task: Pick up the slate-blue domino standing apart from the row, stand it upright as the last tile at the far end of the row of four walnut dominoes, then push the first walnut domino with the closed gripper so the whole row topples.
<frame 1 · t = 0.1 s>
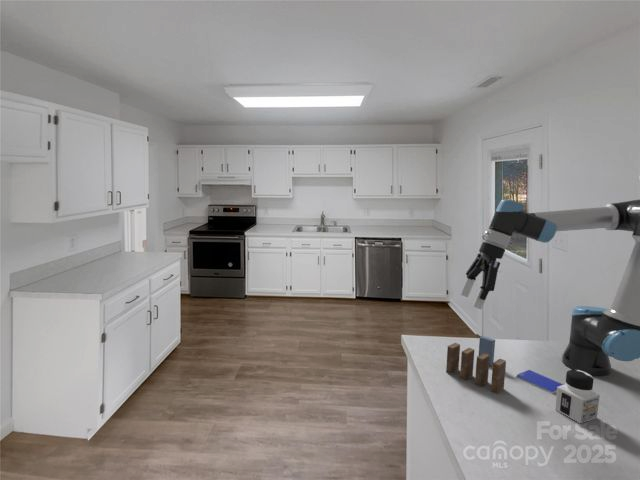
hand: (470, 301, 128), 28 cm above the counter, tool tilted 20°, fingers open, 13 cm apart
domino 2: (481, 383, 127), on the counter
domino 3: (466, 377, 132), on the counter
end domino: (485, 363, 142), on the counter
domino 4: (452, 371, 136), on the counter
container: (575, 414, 110), on the counter
domino 1: (497, 390, 123), on the counter
hard drive: (540, 384, 129), on the counter
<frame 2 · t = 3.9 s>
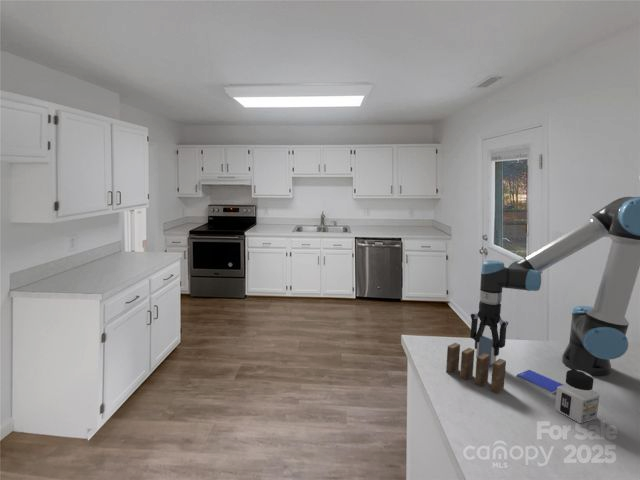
hand: (485, 360, 142), 1 cm above the counter, tool pointing down, fingers closed on end domino, 5 cm apart
end domino: (485, 363, 142), on the counter, touching gripper
everything else where it was.
when the fingers open (2 cm above the counter, at t = 10.8 s): end domino stays where it is, on the counter.
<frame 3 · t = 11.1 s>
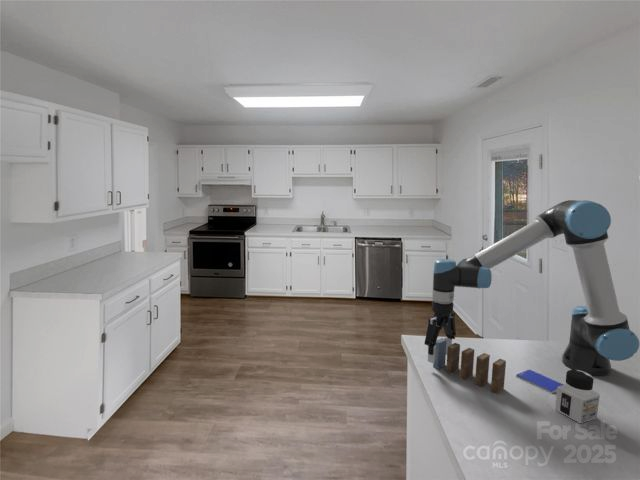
hand: (439, 358, 140), 3 cm above the counter, tool pointing down, fingers open, 10 cm apart
end domino: (439, 365, 140), on the counter
everything else where it was.
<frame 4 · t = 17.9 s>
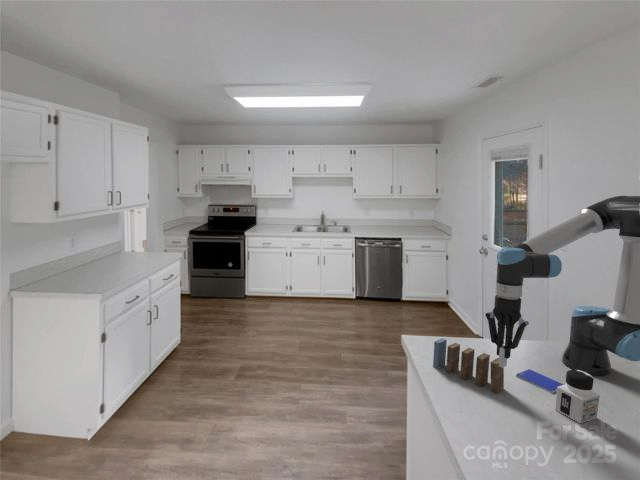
hand: (502, 365, 121), 9 cm above the counter, tool pointing down, fingers closed
nothing on the counter moved.
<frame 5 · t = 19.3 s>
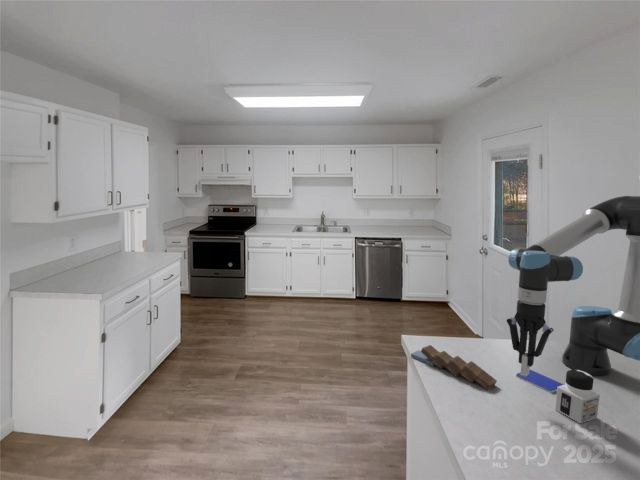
hand: (524, 374, 116), 9 cm above the counter, tool pointing down, fingers closed
domino 2: (476, 378, 128), point 1 cm above the counter, tilted 69°, touching domino 1, domino 3
domino 3: (461, 372, 133), point 1 cm above the counter, tilted 71°, touching domino 2, domino 4
end domino: (436, 363, 141), on the counter, tilted 90°
domino 4: (446, 365, 138), point 1 cm above the counter, tilted 70°, touching domino 3
domino 1: (492, 385, 124), point 1 cm above the counter, tilted 69°, touching domino 2
everything else where it was.
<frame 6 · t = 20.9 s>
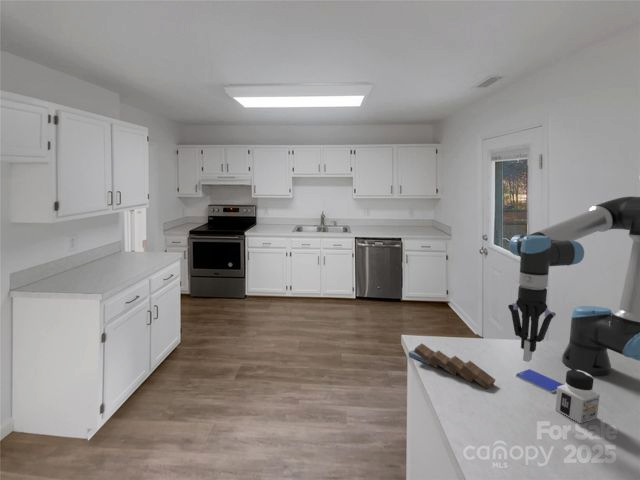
hand: (527, 359, 115), 14 cm above the counter, tool pointing down, fingers closed
domino 3: (458, 371, 134), point 1 cm above the counter, tilted 70°, touching domino 2, domino 4
end domino: (433, 361, 142), point 1 cm above the counter, tilted 90°
domino 4: (440, 363, 139), point 1 cm above the counter, tilted 70°, touching domino 3
domino 1: (491, 384, 125), point 1 cm above the counter, tilted 69°, touching domino 2
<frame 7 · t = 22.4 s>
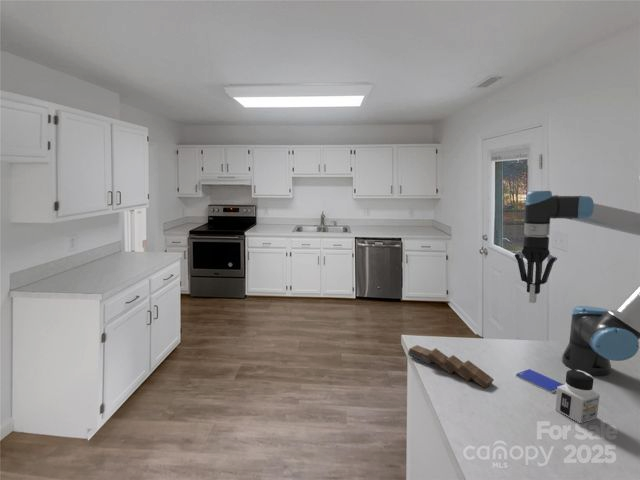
hand: (532, 301, 130), 27 cm above the counter, tool pointing down, fingers closed
domino 2: (472, 377, 130), point 1 cm above the counter, tilted 70°, touching domino 1
domino 3: (455, 369, 135), point 1 cm above the counter, tilted 68°, touching domino 4
end domino: (432, 360, 143), on the counter, tilted 90°
domino 4: (435, 357, 141), point 2 cm above the counter, tilted 90°, touching domino 3
everything else where it was.
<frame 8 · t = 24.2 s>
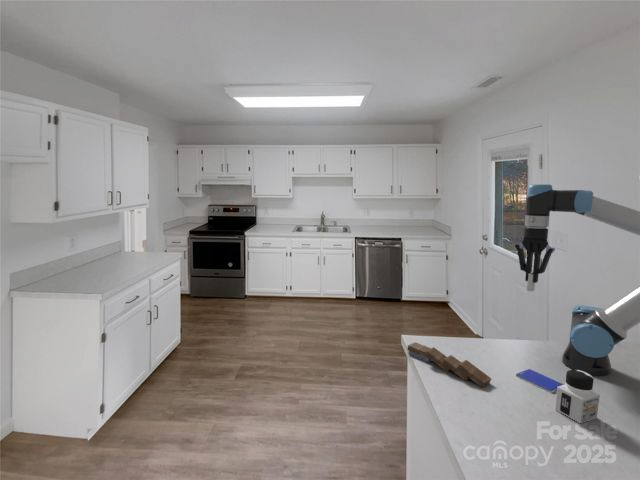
hand: (530, 290, 137), 29 cm above the counter, tool pointing down, fingers closed
domino 3: (451, 367, 136), point 1 cm above the counter, tilted 70°, touching domino 4
end domino: (432, 359, 144), on the counter, tilted 90°, touching domino 4
domino 4: (432, 354, 144), point 2 cm above the counter, tilted 90°, touching domino 3, end domino
at the end: domino 1 tilted 70°; end domino tilted 90°; end domino inside the target area (1.8 cm from its centre), point 0.5 cm above the counter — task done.
